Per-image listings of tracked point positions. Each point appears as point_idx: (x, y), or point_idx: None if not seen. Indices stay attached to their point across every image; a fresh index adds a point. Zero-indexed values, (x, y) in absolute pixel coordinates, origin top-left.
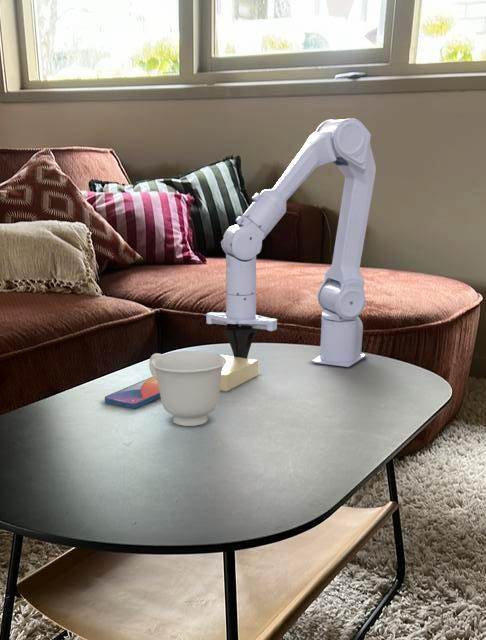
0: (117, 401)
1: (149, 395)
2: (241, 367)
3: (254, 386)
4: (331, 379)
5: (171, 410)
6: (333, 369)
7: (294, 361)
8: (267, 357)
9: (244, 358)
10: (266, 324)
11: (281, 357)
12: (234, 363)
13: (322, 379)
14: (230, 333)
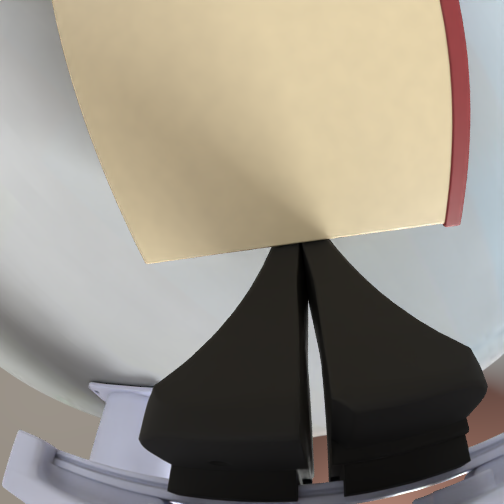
0: None
1: None
2: (74, 65)
3: (53, 78)
4: (23, 307)
5: None
6: (95, 367)
7: None
8: (318, 379)
9: (235, 245)
10: (31, 477)
11: None
12: (185, 93)
13: (28, 297)
14: (379, 376)
